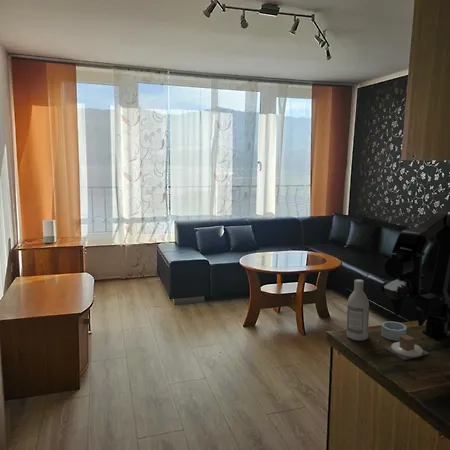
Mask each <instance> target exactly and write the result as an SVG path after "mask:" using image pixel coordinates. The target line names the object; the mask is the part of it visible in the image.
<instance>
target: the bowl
mask: <svg viewBox="0 0 450 450" xmlns="http://www.w3.org/2000/svg"><path fill="white" fill-rule="evenodd" d="M380 328H381V329H380V330H381V331H380V332H381V334H380V335H381V337H383V338H385V339H386V340H389V341H396V342H400V336H404V335H407V328H408V327H407V325H405V324H403V323H401V322H399V321H391V320H389V321H383V322H382V323H381V327H380Z"/></svg>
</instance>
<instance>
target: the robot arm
mask: <svg viewBox="0 0 450 450" xmlns="http://www.w3.org/2000/svg"><path fill="white" fill-rule="evenodd" d="M433 236H435V237H434V238H435V240H436V241H437V244H438V249H437V255H436V260H435V266H434V271H433V276H432V282H431V285H430V288H429V289H428V290H427V291H425V289H424V288H423V287H422V280H425V275H424V274H422V270H423V269H422V268H423V267H422V266H423V257H424V256H425V255H426V254H425V251H426V248H427V246H429V240H430V239H431V238H433ZM391 253H392V254H391V258H389V259H387V261H386V262H385V263H384V271H385V273H386V274H387V276H389V277H390V278H392V279H394V280H389V281H383V283H382V284H381V291H382V292H383V294H384V295H385V296H386V297H387V298H389V299H390V301H391V305H392V308H393V310H394V313H395V316H400V313H401V311H402V305H403V302H404V298H405V297H410V298H411V299H415V302H416V305H415V307H416V309H417V310H418V311H417V312H418V315H417V316H418V319H417V322H418V323H417V324H418V326H419V327H421V326H423V325H424V324H425V329H424V330H422V333H423V334H426V335H427V336H430V337H432V338H434V339H436V340H442V339H446V338H449V337H450V333H448V328H449V327H448V326H449V325H448V324H449V323H450V295H449V292H448V288H449V287H448V286H449V283H450V282H449V281H450V214H448V213H443V212H442V213H441V212H435V213H433V214H431V216H430V217H429V218H427V219H426V220H425V221H424V222H422V223H421V224H418V226H416V227H408V228H405V229H403V230H401V232H400V233H399V234H398V236H397V238H396V241H395V243H394V246H393V249H392V250H391ZM421 293H423V294H421Z"/></svg>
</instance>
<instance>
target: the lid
mask: <svg viewBox="0 0 450 450" xmlns="http://www.w3.org/2000/svg"><path fill="white" fill-rule="evenodd" d="M415 341H416V339H415V337H413V336H410V335H408V334H406V335H404V336H400V341H396V342H393V343H392V344H391V346H390V347H391V349H392V351H393V352H395V353H396V354H399V355H402V356H406V357H417V358H419V356H421V355H422V354H423V350H424V349H423V348H422V347H421V346H419V345H418V344H416V342H415ZM421 357H422V356H421Z"/></svg>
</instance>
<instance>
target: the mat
mask: <svg viewBox="0 0 450 450" xmlns="http://www.w3.org/2000/svg"><path fill="white" fill-rule="evenodd" d="M384 350H385V351H387V352H388V353H390V354H392V355H394V356H395V357H397V358H399V359H401V360H403V361H408V360H412V359H417V358H419V357H420V358H421V357H425V356H428V355H429V356H430V352H428V351H426V350H424V349H423V354H422V355H421V356H419V357H406V356H402V355H399V354H396V353H395V352H393V351H392V349H391V346H388V347H386V346H385V347H384Z"/></svg>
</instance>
